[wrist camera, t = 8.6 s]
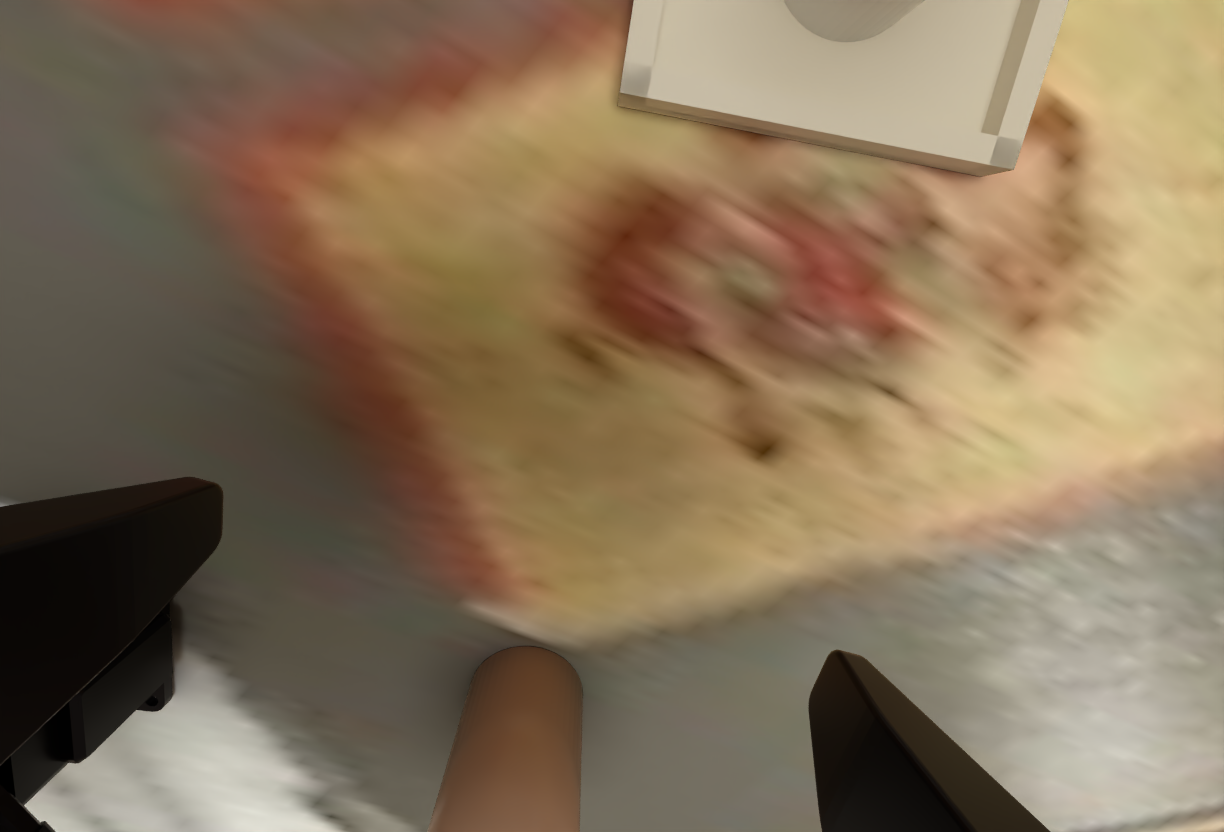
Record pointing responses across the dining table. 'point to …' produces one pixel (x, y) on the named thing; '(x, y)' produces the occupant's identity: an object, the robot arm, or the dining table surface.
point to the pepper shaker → (516, 748)
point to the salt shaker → (849, 16)
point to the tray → (851, 76)
